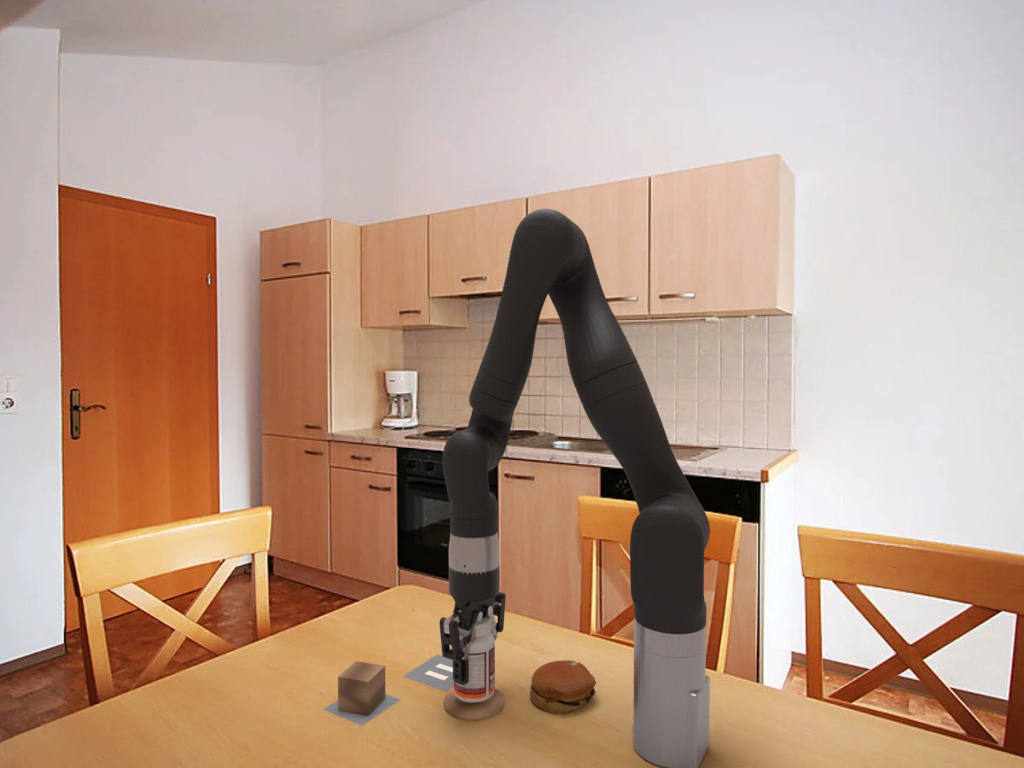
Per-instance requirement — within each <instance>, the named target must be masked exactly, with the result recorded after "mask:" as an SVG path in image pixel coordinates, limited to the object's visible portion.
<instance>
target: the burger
mask: <svg viewBox="0 0 1024 768" xmlns="http://www.w3.org/2000/svg"><path fill="white" fill-rule="evenodd" d="M596 683H597V681H596V678H595V677H594V676H593V674H591V672H590V671H589V669H588V668H587V667H586V666H585V665H584V664H583V663H581V662H577V661H575V660H570V659H569V660H554V661H550V662H548V663H545V664H543V665H541V666H539V667H538V668H536V670H535V671H534V673H533V674H532V677H531V683H530V687H529V689H530V691H529V698H530V699H531V701H532V702H533V704H534V705H535V706H537V707H538V708H540V709H542V710H544V711H546V712H548V713H552V714H565V713H569V712H571V711H574V710H577V709H578V708H579V709H580V708H581V707H584V706H585V705H587V704H589V703H590V701H591V700H592V698H593V696H595V694H596V689H595V686H596Z"/></svg>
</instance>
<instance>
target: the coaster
mask: <svg viewBox="0 0 1024 768" xmlns="http://www.w3.org/2000/svg"><path fill="white" fill-rule="evenodd" d="M504 706H505V697H504V695H503V693H502V692H501V691H500V690H498V689H497V688H495V691H494V693H493V695H492V696H491V697H490V698H489V699H487V700H485V701H481V702H474V703H471V702H464V701H462V700H460V699H458V698H457V697H456V695H455V694H454V688H452V690H449V691H448V692H447V693H446V695H445V696H444V699H443V708H444V710H445V712H446V713H447V714H448V715H449V716H451V717H453V718H454V719H457V720H461V721H462V720H463V721H466V722H468V721H470V722H471V721H472V722H476V721H484V720H487V719H490V718H493V717H495V716H496V715H498V714H500V713H501V712H502V710H503V709H504Z"/></svg>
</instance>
